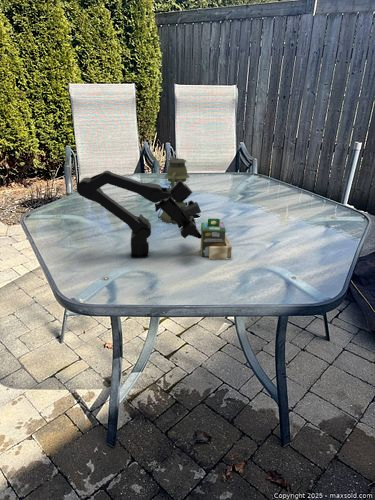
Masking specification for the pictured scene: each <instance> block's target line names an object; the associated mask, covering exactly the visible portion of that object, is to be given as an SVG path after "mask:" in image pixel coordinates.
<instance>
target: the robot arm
mask: <svg viewBox="0 0 375 500" xmlns="http://www.w3.org/2000/svg"><path fill="white" fill-rule="evenodd" d="M105 185H111V186H114V187H117V188H120V189H123V190H127V191H129V192H132V193H134V194H138V195H139V196H141V197H142V198H144V199H145V200H147V201H149V202H150V203H151V202H152V203H154V207H155V208H154V211H155V213H157V212H158V211H160V209H161V211H162V213H163V212H164V213H166V214H167V215H168V216H169V217H170V220H171V221H174V222H175V223H176V224H175V225H177V227H178V229H180V236H182V238H184V239H186V238H187V237H188V236H190V237H194V238H197V239H200V240H201V238H202V236H201V232H200V231H199V230H198V228H197V225H196V223H197V222H196V219H195V218H193V219H192V220H190V219H191V217H190V216H193V217H194V216H195V215H198V214H200V213H201V212H202V209H201V208H200V206H199V203H198V202H197V201H195V202H194V201H193V200H192V199H191V200H189V201H188V202H187V207H185V208H183V207H182V206H179V205H178V204H177V203H180V202H181V203H182V202H185V200H187V199H189V197H190V196H191V195H192V194H193V193H194V192H193V191H192V189H191V188H190V187H189V186H188V185H187V183H185V182H182V181H181V180H179V181H178V182H177V183H174V186H173V187H172V188H171V187H170V188H171V189H170V188H169V187H164V186H161V185H160V184H158V183H151V182H140V181H137V180H134V179H132V178H129V177H126V176H123V175H121V174H117V173H114V172H111V171H110V170H105V171H103V172H101V173H99V174H96V175H93V176H92V177H84V178H82V179H80V181H79V183H78V184H77V185H76V191H77V194H78V195H79V196H81V197H83V198H85V200H88V201H91V202H95V203H97V204H99V205H100V206H101V207H103V208H104V209H105V210H107V211H108V212H109V213H111V214H112V215H114V216H115V217H117V218H118V219H120V221H122V222H123V223H124V224H125V225H127V226H128V227H129V228H130V230H131V236H130V251H131V252H130V258H134V259H135V258H137V259H138V258H148V255H149V254H150V247H149V245H150V244H149V242H148V238H149V237H151V234H152V226H151V223H150V220H149V218H146V217H144V215H143V214H141V213H140V214H139V215H134V214H133V213H132V212H130V211H129V210H127V209H126V208H125V207H124V206H123V205H121V204H119V203H118V202H117V201H116V200H115V199H113V198H111V197H110V196H108V195H107V194H106V193H105V192H104V191H103V190H102V187H104V186H105ZM171 197H172V198H173V199H174V200H173V199H172V198H171ZM175 201H176V202H177V203H176V202H175Z"/></svg>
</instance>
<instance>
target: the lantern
mask: <svg viewBox="0 0 375 500" xmlns="http://www.w3.org/2000/svg"><path fill="white" fill-rule="evenodd" d="M167 162H168V163H169V164H168V167H167V169H166V174H165V175H164V178H165V180H167V181H168V183H169V182H170V184H169V186H168V184H167V183H165V184H166V186H167V187H168V188H170V189H171V188H172V187H173V186H174V185H175V184H176V183H177V182H178V181H179V180H181V181H182V182H183V183H186V182H187V183H189V180H188V179H189V178H190V177H191V176H190V175H189V174H188V170H187V166H186V163H187V160H185V159H184V158H179V157H178V158H177V157H171V158H168V159H167ZM171 198H172V197H171ZM172 199H173V198H172ZM173 200H174V199H173ZM174 201H175V200H174ZM175 202H176V201H175ZM176 203H177V202H176ZM177 204H178V205H179V206H182V207H183V208H185V207H187V206H188V202H187V201H183V202H182V203H181V202H180V203H177ZM161 211H162V210H161V209H159V213H158V216H157V219H160V221H161V220H162V221H161V222H163V223H165V222H166V224H169V223H172V224H171V225H177V224H176V223H175V222H174V221H171V220H170V217H169V216H168V215H167V214H166V213H164V212H163V211H162V212H161ZM190 217H191V219H190V220H192V219H193V218H194V215H193V216H190ZM194 219H195V218H194Z"/></svg>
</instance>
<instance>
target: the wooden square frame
mask: <svg viewBox="0 0 375 500" xmlns="http://www.w3.org/2000/svg"><path fill="white" fill-rule="evenodd" d="M232 251H233V249H232V246H231V244H230V241H229V240H228V238H227V236H226V235H225V246H209V256H208V260H209V259H218V260H226V259H225V258H231V259H232Z"/></svg>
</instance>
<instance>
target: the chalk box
mask: <svg viewBox="0 0 375 500" xmlns="http://www.w3.org/2000/svg"><path fill="white" fill-rule="evenodd" d="M226 231H227V229H226V227H225V224H224V222H223V221H221V219H220V218H208V219H207V222H201V223H200V234H201V236H202V238H201V239H200V252H201V253H200V255H201V257H203V258H204V257H209V246H225V236H226Z"/></svg>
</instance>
